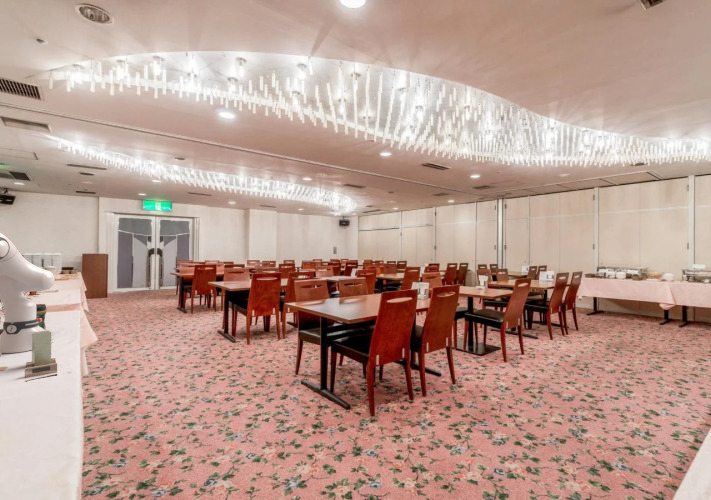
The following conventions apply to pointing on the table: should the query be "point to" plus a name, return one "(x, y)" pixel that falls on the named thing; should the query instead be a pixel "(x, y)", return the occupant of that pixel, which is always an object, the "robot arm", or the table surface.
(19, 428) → the table surface
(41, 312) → the coffee jar
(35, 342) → the tea tin
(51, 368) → the shelf board
